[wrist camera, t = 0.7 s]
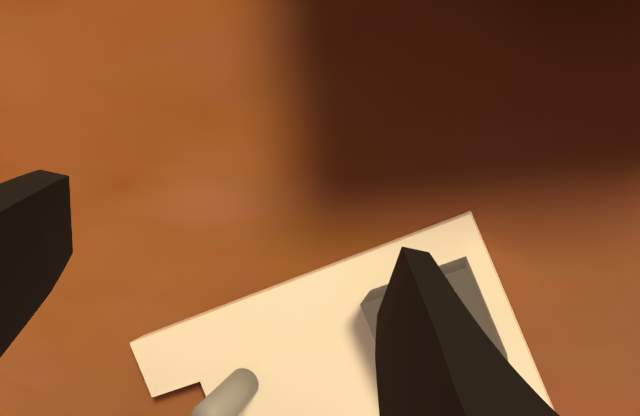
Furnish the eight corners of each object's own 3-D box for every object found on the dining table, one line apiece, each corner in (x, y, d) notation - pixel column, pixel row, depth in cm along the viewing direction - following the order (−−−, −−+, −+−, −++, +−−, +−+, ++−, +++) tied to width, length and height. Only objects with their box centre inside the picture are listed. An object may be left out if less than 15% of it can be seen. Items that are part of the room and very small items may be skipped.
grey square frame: (507, 353, 29) (510, 376, 26) (408, 382, 31) (402, 406, 28) (466, 256, 29) (465, 267, 26) (370, 290, 31) (359, 304, 28)
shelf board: (572, 453, 30) (598, 532, 24) (224, 532, 37) (173, 609, 31) (470, 210, 30) (470, 226, 24) (142, 335, 37) (76, 372, 31)
